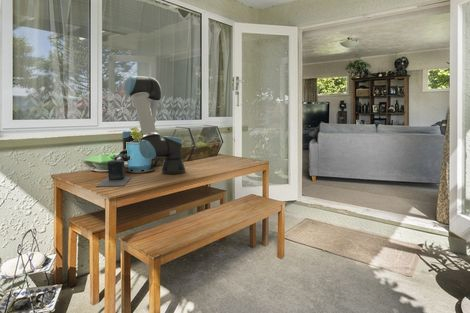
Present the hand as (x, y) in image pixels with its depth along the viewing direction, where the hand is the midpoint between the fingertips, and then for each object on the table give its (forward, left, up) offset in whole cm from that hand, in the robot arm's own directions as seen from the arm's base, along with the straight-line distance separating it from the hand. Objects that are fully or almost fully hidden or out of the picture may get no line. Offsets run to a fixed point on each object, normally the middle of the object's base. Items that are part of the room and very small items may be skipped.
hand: (118, 161), depth 186 cm
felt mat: (0, +12, -10) cm, 16 cm away
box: (0, +6, -10) cm, 11 cm away
